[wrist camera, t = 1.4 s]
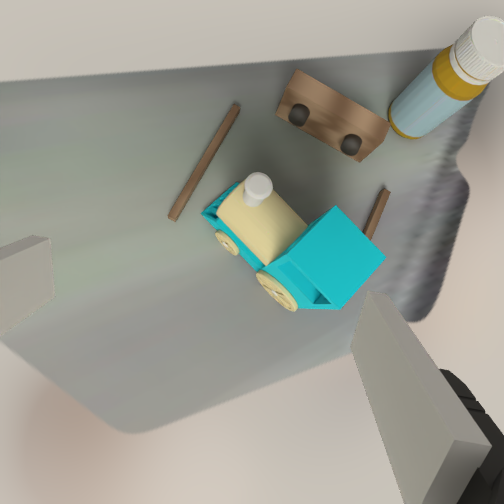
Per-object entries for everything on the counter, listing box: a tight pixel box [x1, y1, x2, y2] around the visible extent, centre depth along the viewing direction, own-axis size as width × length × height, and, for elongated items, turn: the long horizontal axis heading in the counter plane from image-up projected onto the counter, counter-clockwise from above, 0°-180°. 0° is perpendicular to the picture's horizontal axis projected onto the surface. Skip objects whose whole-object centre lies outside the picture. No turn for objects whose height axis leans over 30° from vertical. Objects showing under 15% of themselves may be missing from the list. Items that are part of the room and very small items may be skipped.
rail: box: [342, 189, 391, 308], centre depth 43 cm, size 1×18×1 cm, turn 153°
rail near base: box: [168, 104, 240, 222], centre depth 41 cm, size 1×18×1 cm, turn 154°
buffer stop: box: [275, 69, 391, 163], centre depth 42 cm, size 14×5×6 cm, turn 63°
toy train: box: [201, 172, 386, 311], centre depth 34 cm, size 8×17×15 cm, turn 45°
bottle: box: [388, 16, 504, 139], centre depth 41 cm, size 7×7×15 cm
